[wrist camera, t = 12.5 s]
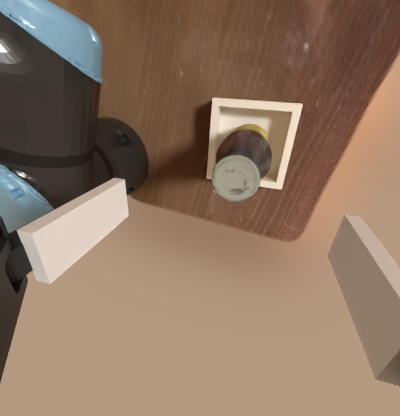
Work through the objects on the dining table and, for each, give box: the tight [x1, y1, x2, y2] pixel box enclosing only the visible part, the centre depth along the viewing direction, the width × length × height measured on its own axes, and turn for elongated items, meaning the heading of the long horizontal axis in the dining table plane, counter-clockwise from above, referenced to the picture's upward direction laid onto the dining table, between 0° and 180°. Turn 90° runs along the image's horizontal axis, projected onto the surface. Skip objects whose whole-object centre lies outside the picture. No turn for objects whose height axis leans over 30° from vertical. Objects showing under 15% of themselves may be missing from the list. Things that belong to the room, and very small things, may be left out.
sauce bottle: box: [211, 124, 272, 202], centre depth 27 cm, size 7×6×20 cm
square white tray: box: [206, 98, 303, 190], centre depth 34 cm, size 12×12×4 cm
